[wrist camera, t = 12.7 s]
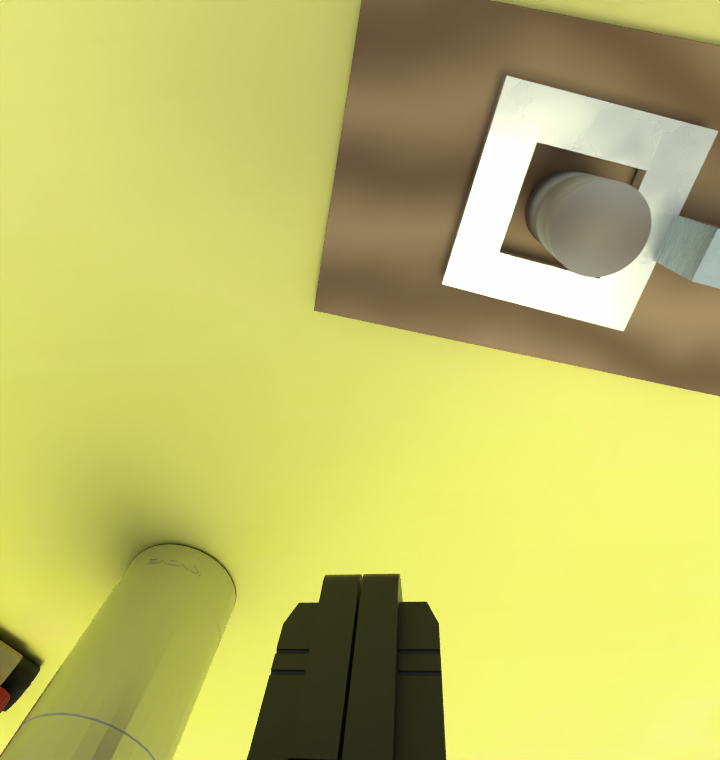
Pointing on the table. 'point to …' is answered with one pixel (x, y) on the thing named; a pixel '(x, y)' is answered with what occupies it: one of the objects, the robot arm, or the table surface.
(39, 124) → the table surface
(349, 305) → the flange base
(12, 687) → the toy fire truck
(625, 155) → the flange plate
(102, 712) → the robot arm
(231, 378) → the table surface
